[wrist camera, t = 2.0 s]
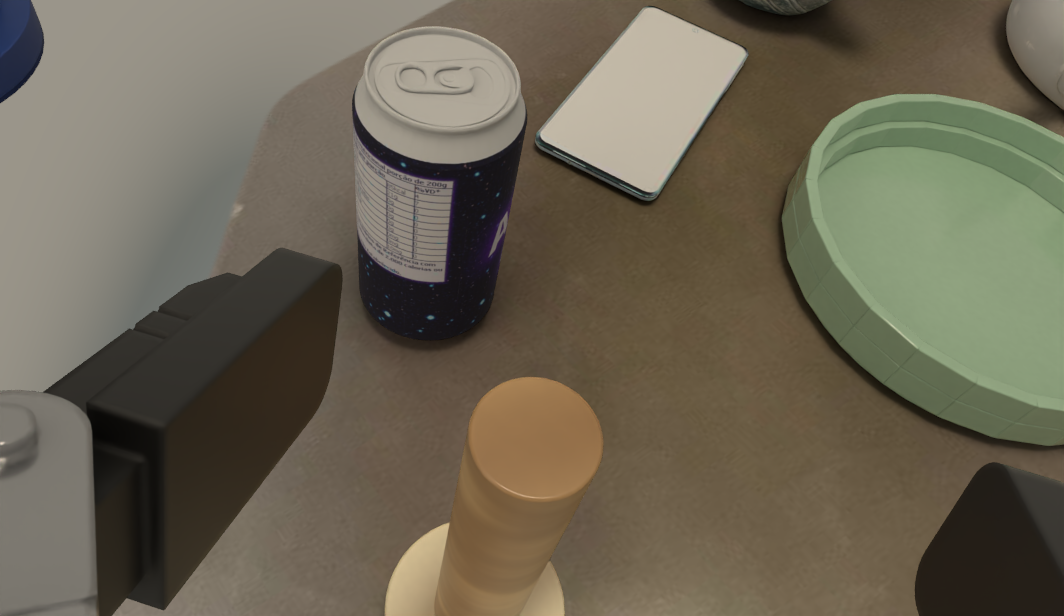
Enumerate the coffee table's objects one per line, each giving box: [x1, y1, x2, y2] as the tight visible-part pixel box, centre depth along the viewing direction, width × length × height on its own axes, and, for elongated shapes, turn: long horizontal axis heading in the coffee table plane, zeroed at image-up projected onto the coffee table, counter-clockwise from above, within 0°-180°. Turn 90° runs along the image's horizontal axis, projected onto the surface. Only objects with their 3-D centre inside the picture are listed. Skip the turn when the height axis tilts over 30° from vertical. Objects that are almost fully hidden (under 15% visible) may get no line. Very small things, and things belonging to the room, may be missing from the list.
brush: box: [385, 377, 603, 616], centre depth 21 cm, size 6×6×15 cm
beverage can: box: [352, 26, 527, 340], centre depth 30 cm, size 6×6×12 cm
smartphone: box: [535, 6, 748, 201], centre depth 44 cm, size 7×1×15 cm
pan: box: [782, 94, 1064, 446], centre depth 39 cm, size 19×19×4 cm
